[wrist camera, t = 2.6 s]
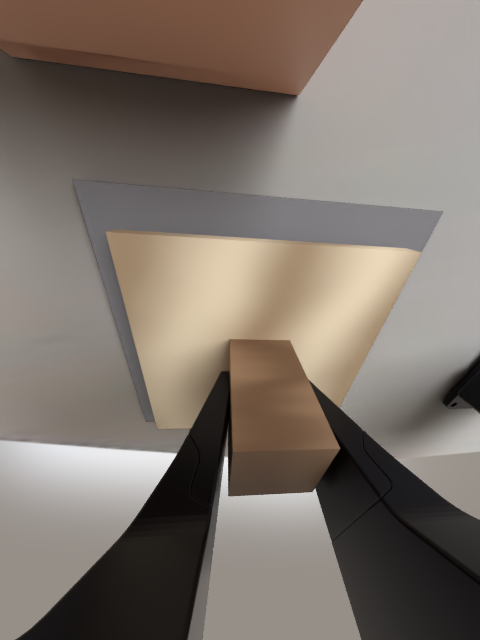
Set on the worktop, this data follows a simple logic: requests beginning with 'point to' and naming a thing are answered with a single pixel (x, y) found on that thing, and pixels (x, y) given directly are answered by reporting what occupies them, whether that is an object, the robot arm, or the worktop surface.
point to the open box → (182, 37)
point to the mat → (232, 230)
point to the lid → (256, 338)
